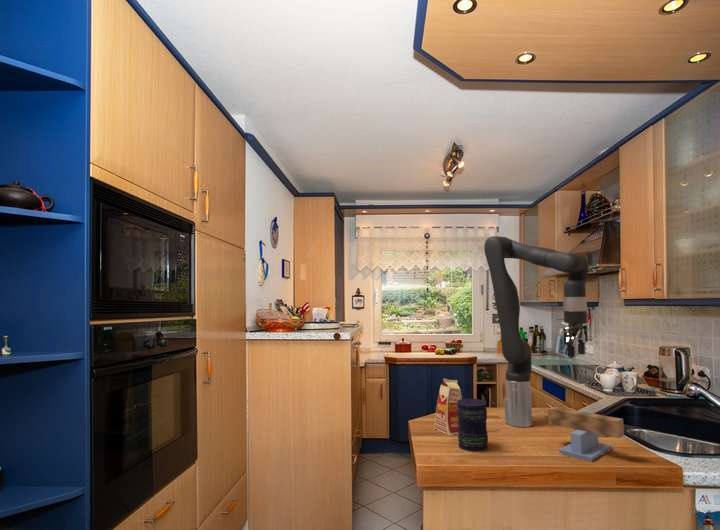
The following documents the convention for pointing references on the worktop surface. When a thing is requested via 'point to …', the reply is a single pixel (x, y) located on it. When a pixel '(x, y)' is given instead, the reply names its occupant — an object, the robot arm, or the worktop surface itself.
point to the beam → (586, 422)
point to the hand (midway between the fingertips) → (576, 355)
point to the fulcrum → (585, 446)
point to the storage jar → (472, 425)
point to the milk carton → (448, 407)
